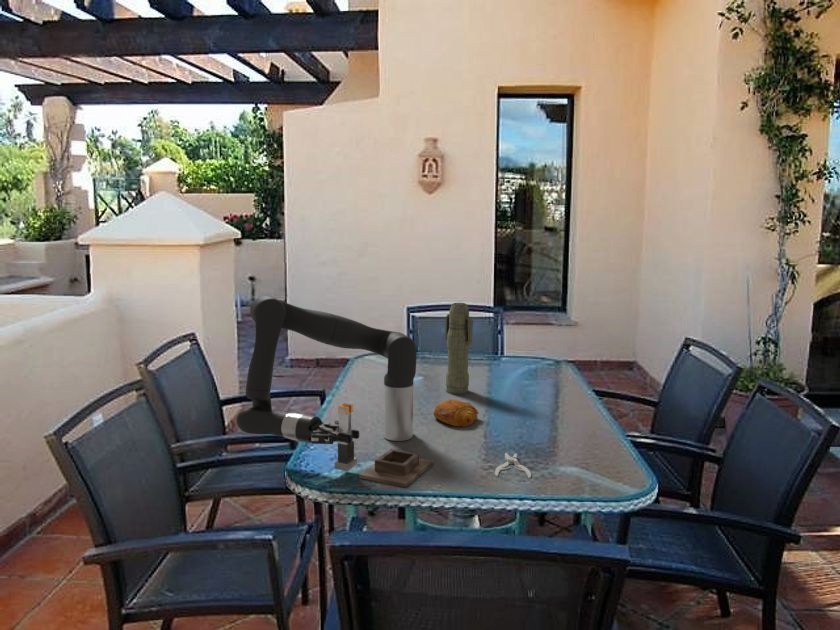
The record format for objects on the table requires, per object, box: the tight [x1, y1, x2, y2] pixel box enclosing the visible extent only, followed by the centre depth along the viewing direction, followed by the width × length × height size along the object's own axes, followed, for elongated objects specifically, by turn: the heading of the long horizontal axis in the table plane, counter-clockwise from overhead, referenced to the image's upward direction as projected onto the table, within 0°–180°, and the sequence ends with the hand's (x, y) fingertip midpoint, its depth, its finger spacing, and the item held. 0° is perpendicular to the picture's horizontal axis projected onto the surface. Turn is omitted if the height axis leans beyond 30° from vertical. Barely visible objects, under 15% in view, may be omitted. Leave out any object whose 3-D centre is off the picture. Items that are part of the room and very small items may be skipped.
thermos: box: [445, 302, 474, 395], centre depth 268 cm, size 9×12×35 cm
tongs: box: [334, 402, 358, 472], centre depth 188 cm, size 5×4×18 cm
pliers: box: [494, 452, 532, 479], centre depth 196 cm, size 10×2×15 cm
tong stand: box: [358, 448, 434, 488], centre depth 192 cm, size 18×14×4 cm
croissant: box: [433, 399, 479, 428], centre depth 236 cm, size 14×16×8 cm
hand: (355, 437), depth 187 cm, fingers closed on tongs, 3 cm apart
